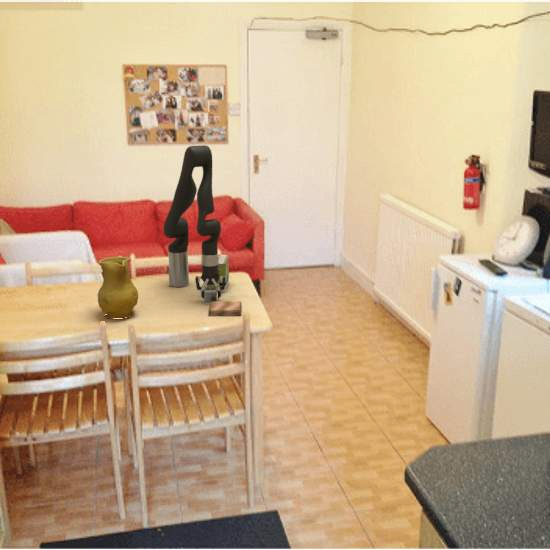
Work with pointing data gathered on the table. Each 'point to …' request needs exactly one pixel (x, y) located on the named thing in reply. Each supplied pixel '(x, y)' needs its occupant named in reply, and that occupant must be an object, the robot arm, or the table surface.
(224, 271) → the tea box
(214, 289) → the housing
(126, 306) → the pitcher
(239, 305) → the stand
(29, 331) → the table surface
